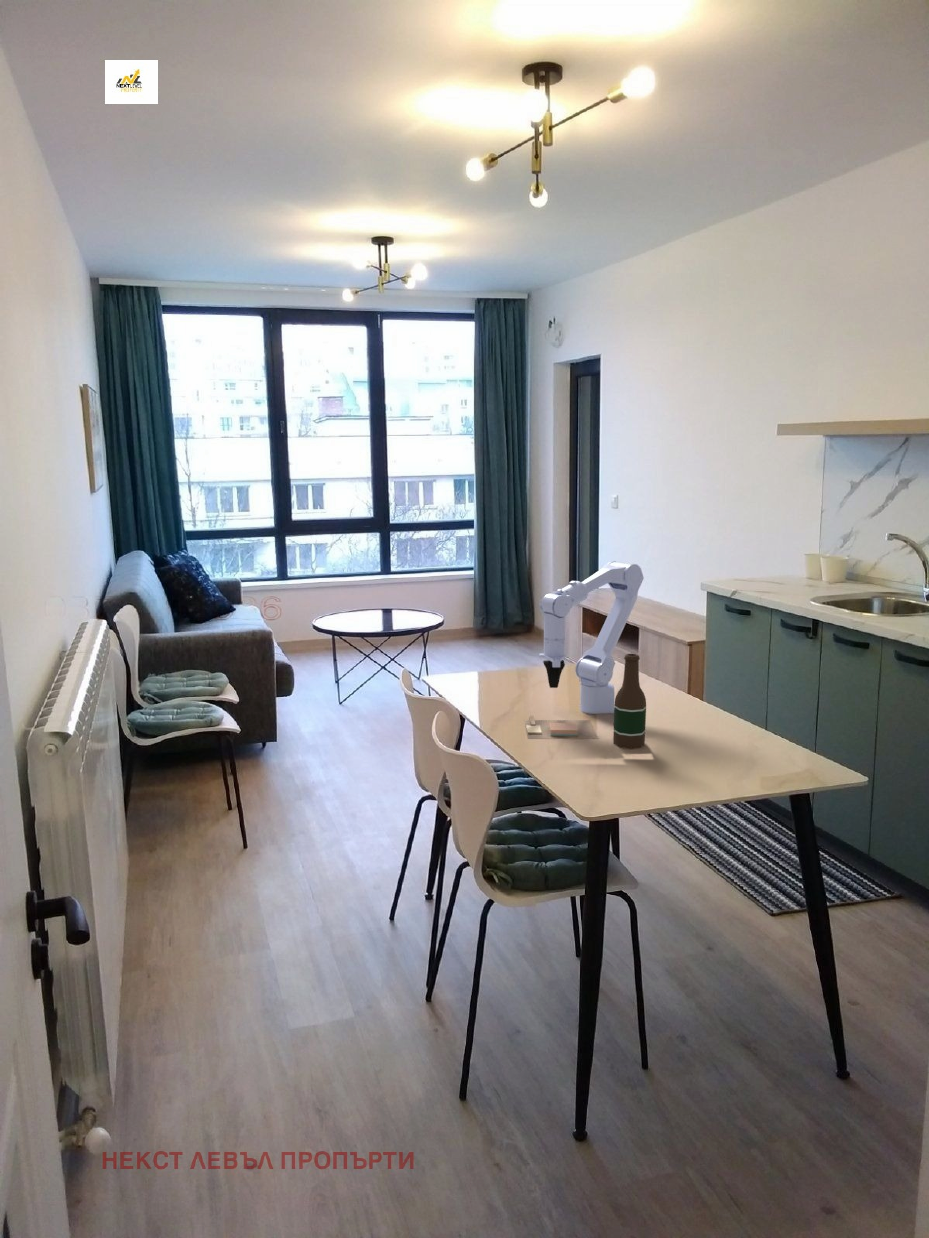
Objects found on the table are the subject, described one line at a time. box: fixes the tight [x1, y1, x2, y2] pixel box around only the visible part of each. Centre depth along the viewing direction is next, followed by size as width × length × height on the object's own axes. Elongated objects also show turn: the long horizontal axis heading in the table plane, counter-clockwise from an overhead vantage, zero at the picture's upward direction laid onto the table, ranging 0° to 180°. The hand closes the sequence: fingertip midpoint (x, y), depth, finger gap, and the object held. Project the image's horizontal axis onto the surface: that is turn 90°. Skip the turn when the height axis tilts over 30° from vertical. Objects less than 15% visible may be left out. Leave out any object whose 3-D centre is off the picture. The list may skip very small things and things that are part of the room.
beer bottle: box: [612, 653, 647, 750], centre depth 221 cm, size 8×8×24 cm
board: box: [523, 719, 599, 740], centre depth 235 cm, size 18×16×1 cm
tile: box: [549, 723, 578, 736], centre depth 232 cm, size 7×2×6 cm
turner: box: [525, 715, 542, 734], centre depth 237 cm, size 4×14×1 cm, turn 0°
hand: (553, 687), depth 243 cm, fingers closed
